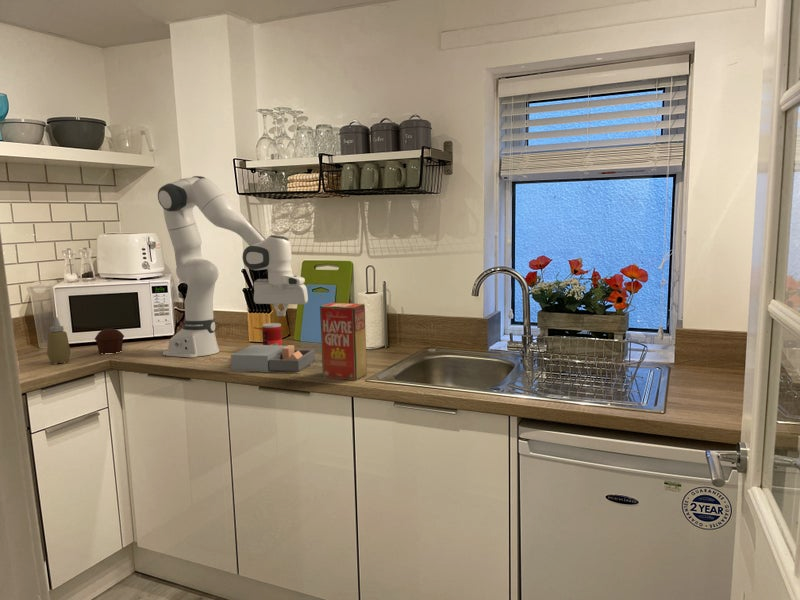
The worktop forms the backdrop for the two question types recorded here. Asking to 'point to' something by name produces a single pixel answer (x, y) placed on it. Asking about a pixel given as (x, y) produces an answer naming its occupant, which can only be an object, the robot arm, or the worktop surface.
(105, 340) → the muffin
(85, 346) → the worktop surface
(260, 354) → the grey rectangular box
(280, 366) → the box
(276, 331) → the canned food
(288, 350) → the tile
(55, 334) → the squeeze bottle
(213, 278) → the robot arm
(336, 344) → the food packaging
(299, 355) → the tile
